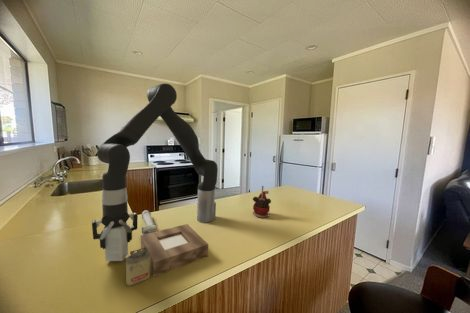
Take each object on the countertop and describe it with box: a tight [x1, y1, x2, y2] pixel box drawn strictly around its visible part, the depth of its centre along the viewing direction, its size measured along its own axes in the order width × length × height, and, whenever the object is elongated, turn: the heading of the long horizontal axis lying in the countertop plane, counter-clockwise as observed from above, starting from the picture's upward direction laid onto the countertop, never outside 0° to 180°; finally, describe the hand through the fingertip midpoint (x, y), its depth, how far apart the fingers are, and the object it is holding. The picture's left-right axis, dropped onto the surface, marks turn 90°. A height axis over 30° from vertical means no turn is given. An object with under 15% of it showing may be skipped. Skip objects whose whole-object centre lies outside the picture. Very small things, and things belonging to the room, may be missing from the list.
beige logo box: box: [125, 246, 152, 286], centre depth 62 cm, size 7×4×10 cm, turn 130°
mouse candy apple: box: [252, 185, 272, 218], centre depth 117 cm, size 11×9×18 cm
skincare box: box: [104, 226, 129, 262], centre depth 70 cm, size 6×4×12 cm
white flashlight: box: [141, 209, 158, 235], centre depth 96 cm, size 5×7×25 cm
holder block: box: [140, 223, 209, 278], centre depth 77 cm, size 20×20×5 cm
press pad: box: [159, 234, 188, 250], centre depth 77 cm, size 9×9×1 cm
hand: (116, 244), depth 71 cm, fingers closed on skincare box, 7 cm apart
